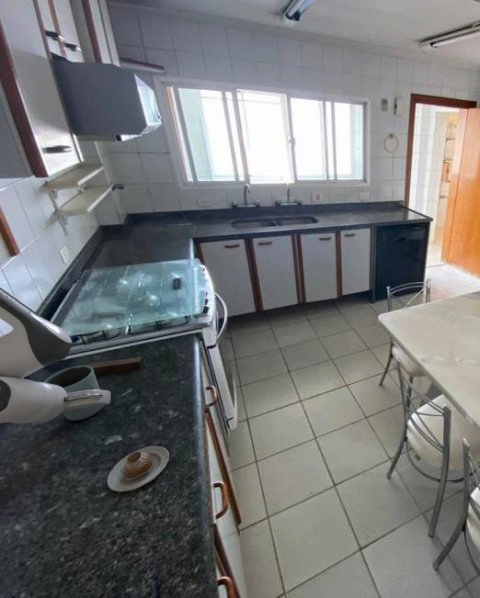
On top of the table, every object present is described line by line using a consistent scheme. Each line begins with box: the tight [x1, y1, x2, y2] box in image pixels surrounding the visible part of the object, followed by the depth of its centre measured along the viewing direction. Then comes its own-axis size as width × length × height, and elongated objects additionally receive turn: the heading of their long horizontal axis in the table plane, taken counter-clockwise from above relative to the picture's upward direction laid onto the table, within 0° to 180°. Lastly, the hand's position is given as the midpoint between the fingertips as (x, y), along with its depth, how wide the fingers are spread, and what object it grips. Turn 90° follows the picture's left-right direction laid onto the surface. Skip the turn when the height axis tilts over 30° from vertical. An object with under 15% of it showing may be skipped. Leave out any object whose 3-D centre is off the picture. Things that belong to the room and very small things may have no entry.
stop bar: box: [80, 356, 143, 376], centre depth 110 cm, size 16×3×3 cm, turn 112°
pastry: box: [106, 445, 170, 493], centre depth 78 cm, size 12×12×5 cm
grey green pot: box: [43, 365, 105, 421], centre depth 92 cm, size 10×10×12 cm
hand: (73, 406), depth 88 cm, fingers closed
